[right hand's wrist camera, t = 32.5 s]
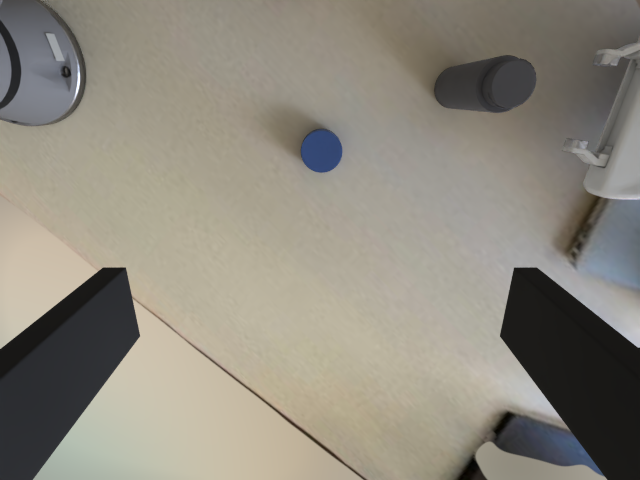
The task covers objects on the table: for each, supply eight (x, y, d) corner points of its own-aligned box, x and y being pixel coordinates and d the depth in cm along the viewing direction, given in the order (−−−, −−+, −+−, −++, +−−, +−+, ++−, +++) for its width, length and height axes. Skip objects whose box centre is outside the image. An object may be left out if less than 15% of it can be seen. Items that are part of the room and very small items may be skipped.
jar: (464, 112, 49) (526, 120, 34) (428, 102, 49) (476, 105, 34) (479, 72, 47) (552, 62, 33) (442, 61, 47) (499, 45, 32)
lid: (304, 126, 50) (303, 127, 48) (344, 132, 50) (345, 133, 48) (299, 166, 52) (298, 169, 49) (337, 171, 52) (338, 175, 50)
